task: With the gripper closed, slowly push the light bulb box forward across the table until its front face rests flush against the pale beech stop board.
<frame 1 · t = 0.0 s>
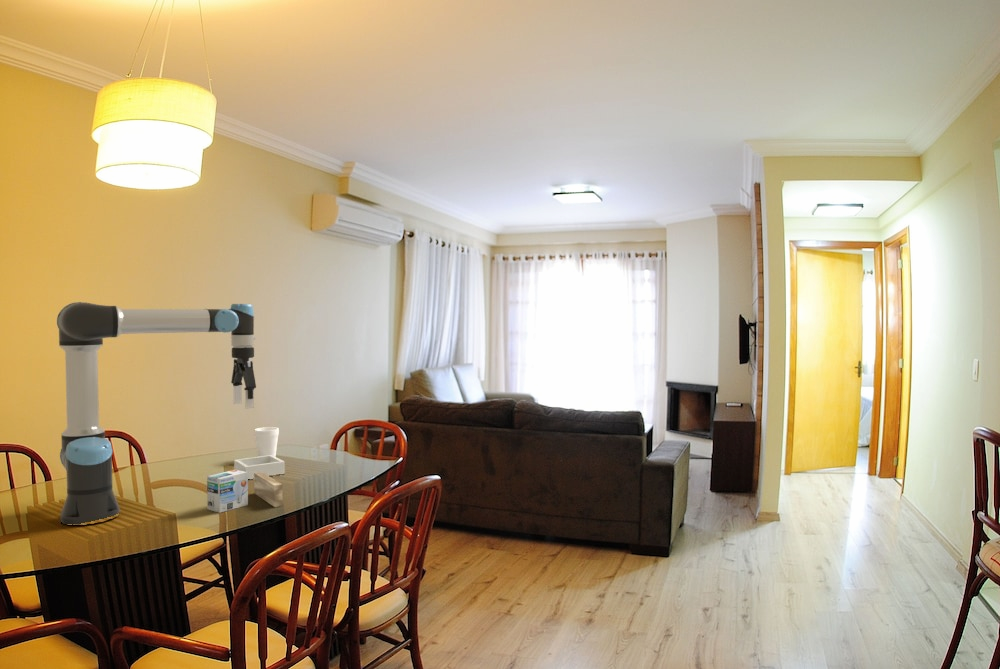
hand: (243, 406, 241), 28 cm above the table, fingers open, 13 cm apart
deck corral: (259, 473, 256), on the table
board: (267, 499, 222), on the table
light bulb box: (228, 508, 214), on the table
foam cup: (267, 460, 279), on the table
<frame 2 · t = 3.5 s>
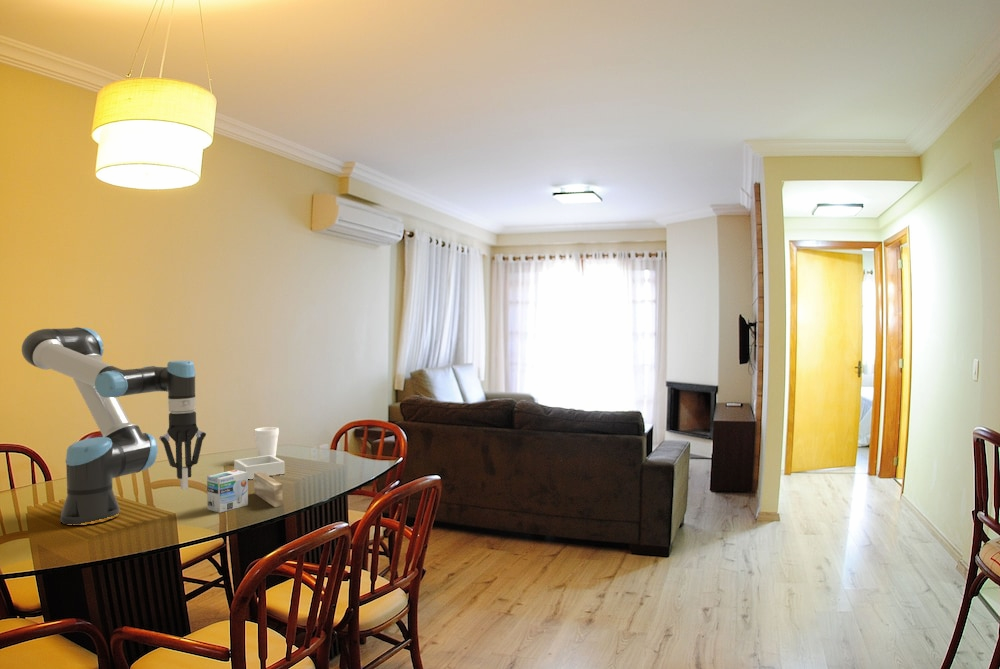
hand: (184, 488, 205), 8 cm above the table, fingers closed
nothing on the table moved.
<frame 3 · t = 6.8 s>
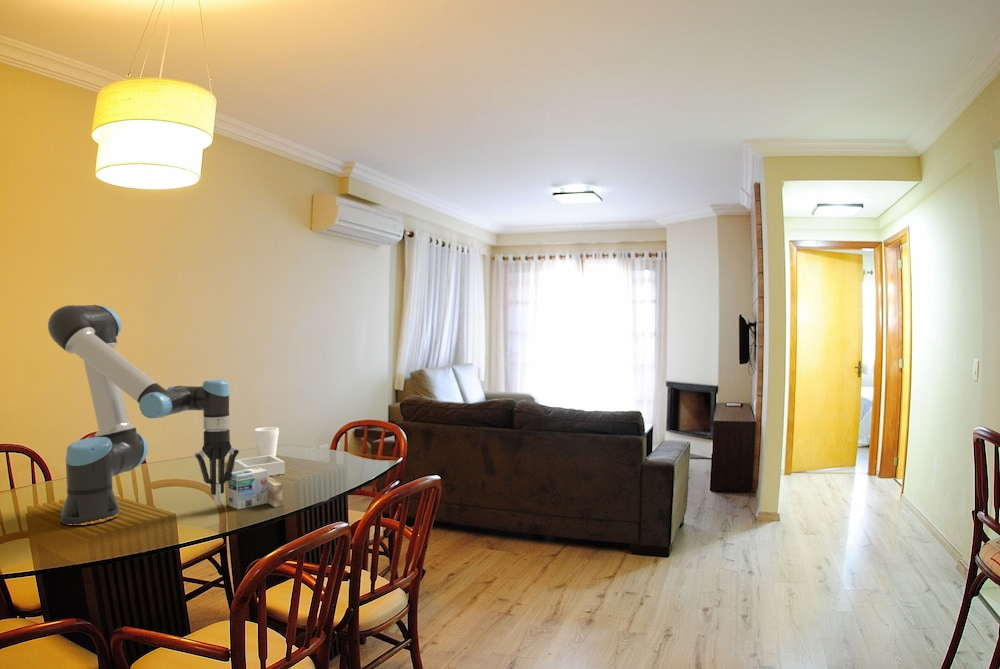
hand: (217, 504, 211), 2 cm above the table, fingers closed
light bulb box: (248, 505, 217), on the table, touching board, hand
everything else where it was.
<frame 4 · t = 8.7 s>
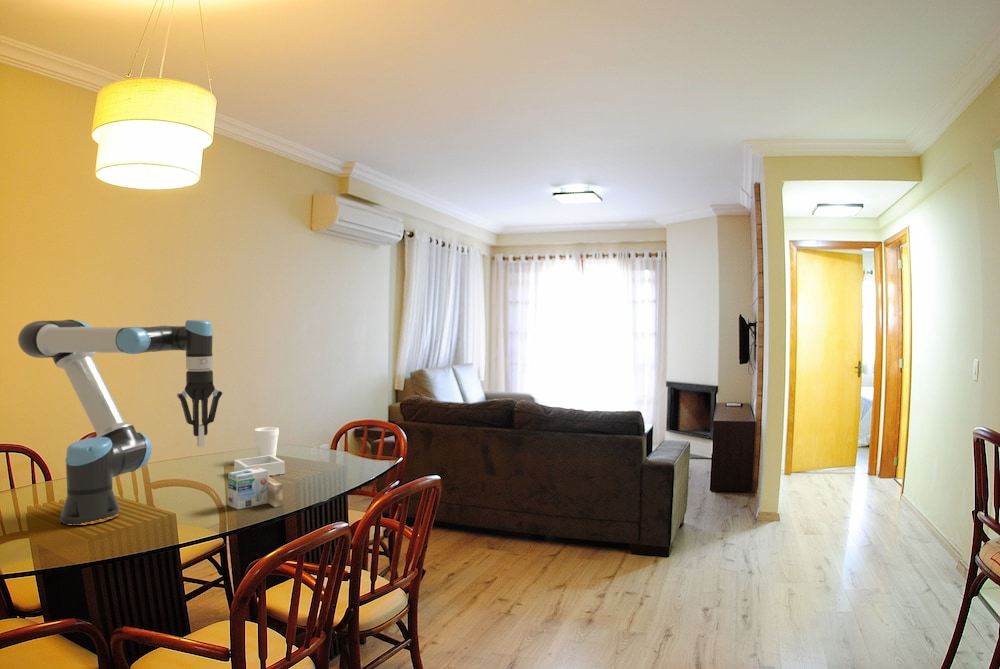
hand: (200, 446, 208), 21 cm above the table, fingers closed
light bulb box: (248, 505, 217), on the table
everything else where it was.
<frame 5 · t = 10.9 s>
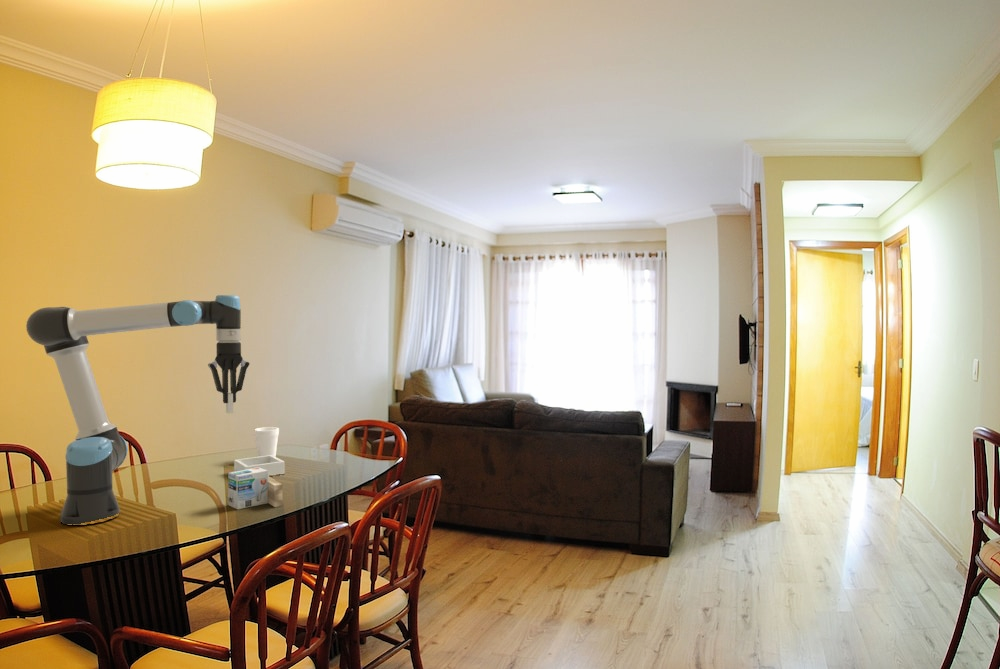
hand: (229, 412, 224), 28 cm above the table, fingers closed
nothing on the table moved.
at the end: light bulb box inside the target area on the table beside the board (1.1 cm from its centre), on the table; light bulb box tilted 0°; light bulb box moved 6.2 cm from its start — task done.
